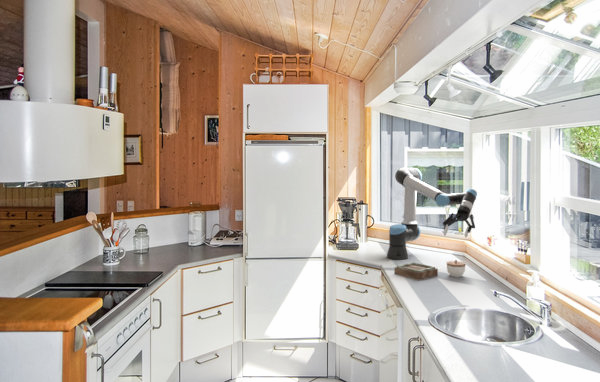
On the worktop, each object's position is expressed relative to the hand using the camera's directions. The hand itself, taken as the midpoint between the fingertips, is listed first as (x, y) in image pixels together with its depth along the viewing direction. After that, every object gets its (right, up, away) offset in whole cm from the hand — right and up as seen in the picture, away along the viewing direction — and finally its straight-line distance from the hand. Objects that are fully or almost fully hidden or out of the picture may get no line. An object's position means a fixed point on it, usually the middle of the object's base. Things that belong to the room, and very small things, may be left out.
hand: (454, 235), depth 265 cm
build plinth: (-25, -24, -5) cm, 35 cm away
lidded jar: (-2, -24, -7) cm, 25 cm away
